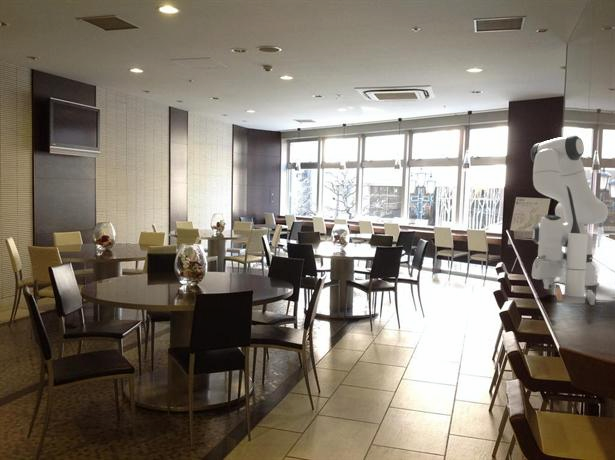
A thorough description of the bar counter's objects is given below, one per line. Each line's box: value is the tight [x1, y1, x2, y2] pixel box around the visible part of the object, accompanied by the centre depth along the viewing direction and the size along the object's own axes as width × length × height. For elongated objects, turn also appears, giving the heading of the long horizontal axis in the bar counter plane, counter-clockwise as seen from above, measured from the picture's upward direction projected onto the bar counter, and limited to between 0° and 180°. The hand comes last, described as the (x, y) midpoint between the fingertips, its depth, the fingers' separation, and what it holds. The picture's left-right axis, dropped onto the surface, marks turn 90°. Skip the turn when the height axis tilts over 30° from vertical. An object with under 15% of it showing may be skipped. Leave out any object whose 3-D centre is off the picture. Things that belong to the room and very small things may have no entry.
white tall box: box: [564, 233, 588, 298], centre depth 217 cm, size 7×7×25 cm
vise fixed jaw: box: [586, 289, 596, 306], centre depth 204 cm, size 14×1×4 cm, turn 157°
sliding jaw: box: [554, 284, 563, 302], centre depth 212 cm, size 21×1×3 cm, turn 157°
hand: (547, 288), depth 220 cm, fingers closed
